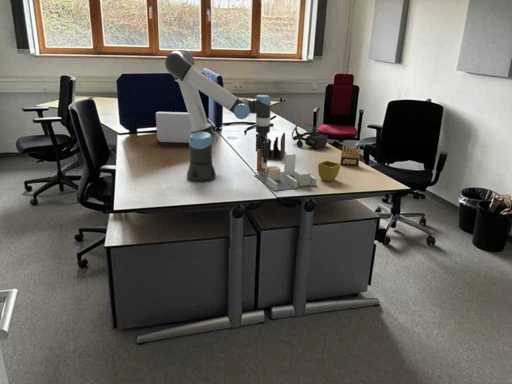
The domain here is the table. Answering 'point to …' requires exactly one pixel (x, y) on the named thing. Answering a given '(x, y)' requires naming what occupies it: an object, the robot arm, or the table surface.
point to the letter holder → (277, 153)
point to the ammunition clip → (350, 157)
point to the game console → (173, 126)
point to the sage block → (289, 169)
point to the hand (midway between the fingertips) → (261, 166)
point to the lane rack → (284, 182)
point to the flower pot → (328, 170)
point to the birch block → (267, 168)
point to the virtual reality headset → (310, 138)
